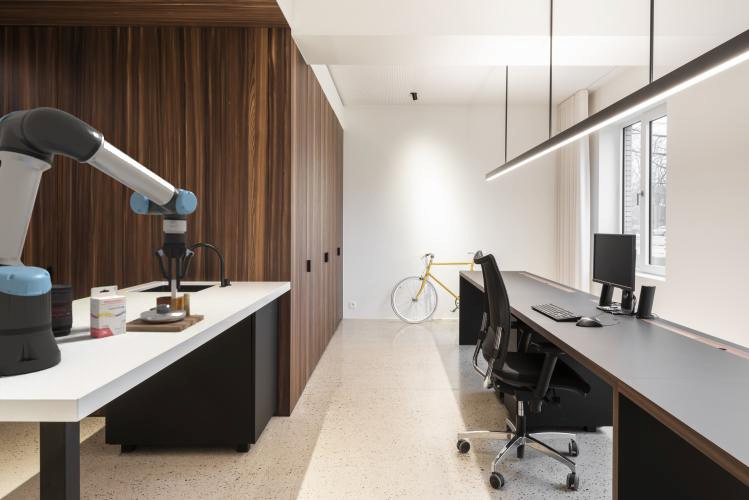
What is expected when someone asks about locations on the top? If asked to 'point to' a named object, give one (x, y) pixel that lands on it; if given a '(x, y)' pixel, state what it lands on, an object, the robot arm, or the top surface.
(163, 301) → the cup and saucer
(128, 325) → the walnut base
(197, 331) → the top surface
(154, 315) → the flange plate
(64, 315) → the camera lens
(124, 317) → the ink cartridge box
